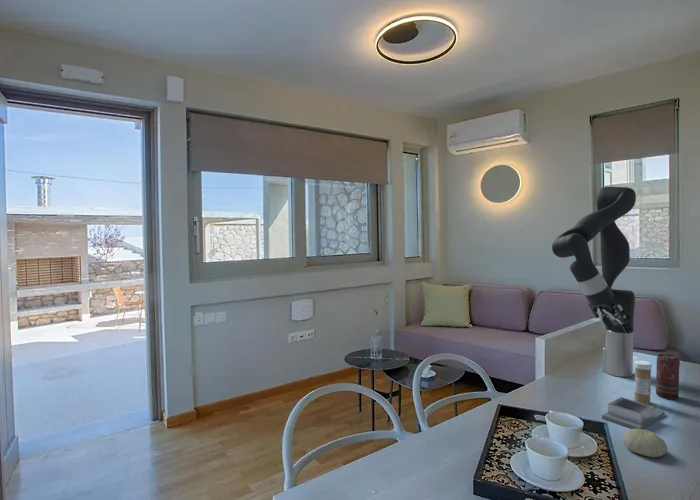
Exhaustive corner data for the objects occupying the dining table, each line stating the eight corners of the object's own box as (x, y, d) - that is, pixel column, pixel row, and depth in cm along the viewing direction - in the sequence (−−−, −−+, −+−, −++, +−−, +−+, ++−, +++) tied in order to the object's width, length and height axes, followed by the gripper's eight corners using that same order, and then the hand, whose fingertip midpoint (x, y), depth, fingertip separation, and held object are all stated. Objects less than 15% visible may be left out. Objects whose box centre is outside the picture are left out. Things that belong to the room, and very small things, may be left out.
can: (683, 400, 139) (684, 359, 138) (661, 399, 140) (662, 358, 139) (673, 393, 145) (674, 353, 144) (652, 392, 146) (653, 353, 145)
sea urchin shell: (658, 457, 102) (634, 425, 106) (633, 468, 107) (611, 437, 112) (678, 448, 106) (653, 417, 111) (653, 459, 111) (631, 429, 116)
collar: (607, 413, 128) (607, 404, 128) (621, 406, 133) (621, 397, 133) (641, 424, 120) (641, 414, 120) (654, 416, 125) (654, 406, 125)
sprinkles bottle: (640, 398, 141) (641, 359, 140) (654, 403, 137) (655, 363, 136) (630, 400, 139) (631, 361, 139) (644, 405, 135) (645, 365, 134)
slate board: (601, 418, 127) (601, 415, 127) (628, 403, 137) (628, 400, 137) (639, 431, 119) (639, 427, 118) (664, 414, 129) (664, 411, 129)
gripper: (619, 283, 130) (646, 327, 130) (589, 281, 144) (614, 321, 145) (600, 296, 130) (627, 340, 130) (572, 292, 144) (596, 332, 144)
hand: (620, 330), depth 137 cm, fingers open, 8 cm apart
